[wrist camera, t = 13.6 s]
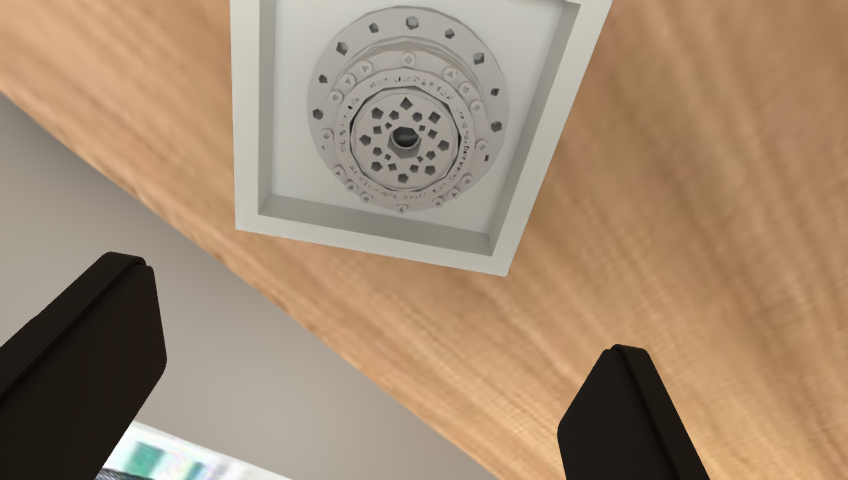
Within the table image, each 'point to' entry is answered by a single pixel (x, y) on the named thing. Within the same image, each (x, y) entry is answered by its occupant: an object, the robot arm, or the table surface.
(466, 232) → the tray
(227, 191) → the table surface
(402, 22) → the mechanical component
